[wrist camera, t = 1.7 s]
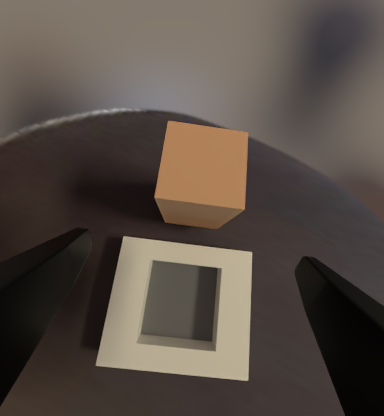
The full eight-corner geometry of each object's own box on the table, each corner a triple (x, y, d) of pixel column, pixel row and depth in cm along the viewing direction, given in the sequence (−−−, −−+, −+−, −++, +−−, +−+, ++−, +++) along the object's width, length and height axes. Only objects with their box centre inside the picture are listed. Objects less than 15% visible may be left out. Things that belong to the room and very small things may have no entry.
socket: (239, 366, 16) (248, 380, 14) (105, 352, 16) (95, 365, 14) (244, 252, 19) (252, 252, 17) (129, 238, 19) (123, 236, 17)
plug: (212, 232, 19) (244, 209, 10) (166, 226, 19) (154, 197, 9) (215, 190, 21) (248, 132, 11) (173, 184, 20) (168, 120, 11)
